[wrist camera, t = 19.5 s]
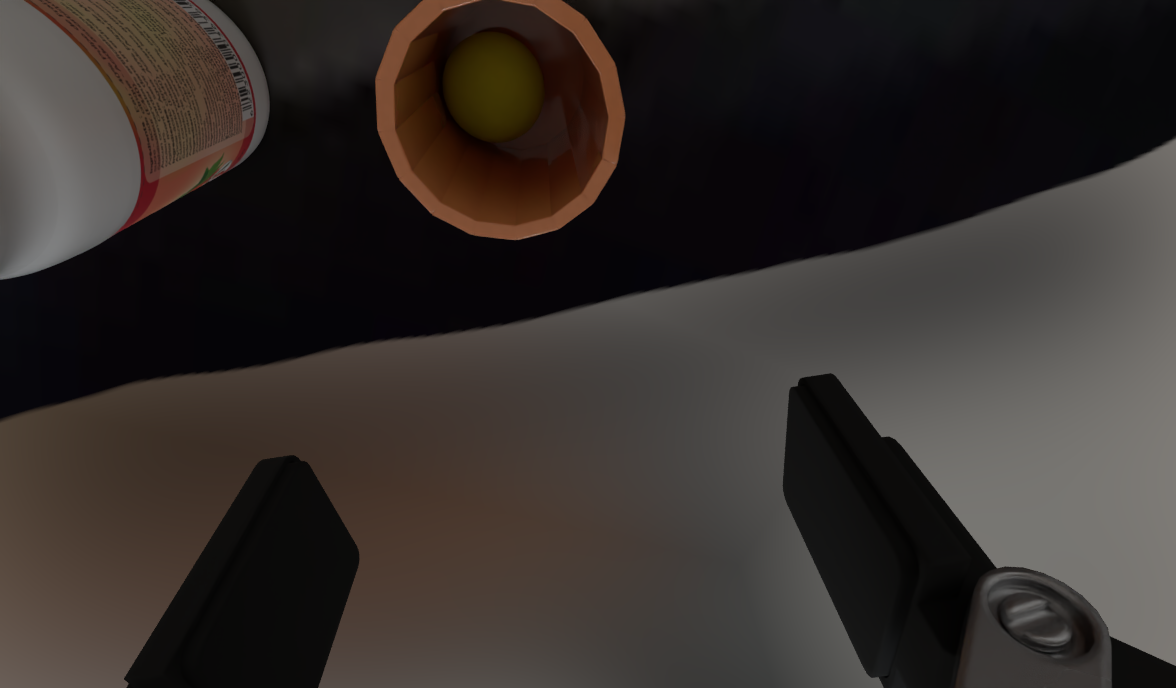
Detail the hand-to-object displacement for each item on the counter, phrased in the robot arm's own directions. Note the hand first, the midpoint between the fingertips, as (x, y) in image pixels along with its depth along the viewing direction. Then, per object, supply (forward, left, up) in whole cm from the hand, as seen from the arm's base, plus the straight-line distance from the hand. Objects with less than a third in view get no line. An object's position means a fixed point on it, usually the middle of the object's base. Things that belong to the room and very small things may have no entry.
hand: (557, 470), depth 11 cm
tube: (+3, -3, -25) cm, 26 cm away
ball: (+4, -2, -22) cm, 23 cm away
